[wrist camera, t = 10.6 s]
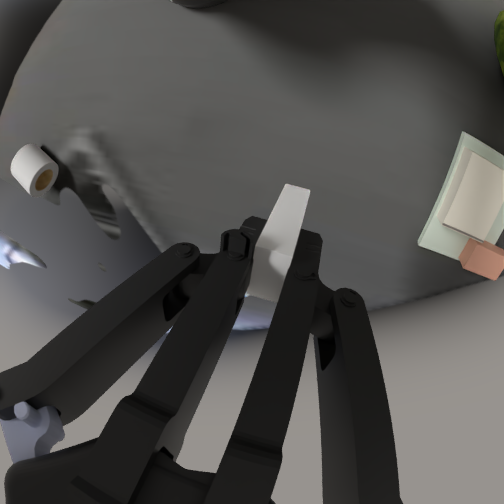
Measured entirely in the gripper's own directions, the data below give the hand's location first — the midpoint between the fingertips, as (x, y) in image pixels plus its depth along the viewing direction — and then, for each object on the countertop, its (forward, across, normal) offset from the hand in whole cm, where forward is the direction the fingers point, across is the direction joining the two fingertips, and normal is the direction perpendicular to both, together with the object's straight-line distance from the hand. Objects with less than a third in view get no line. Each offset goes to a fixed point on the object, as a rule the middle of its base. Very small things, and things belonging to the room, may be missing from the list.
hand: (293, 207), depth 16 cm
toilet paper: (+25, -63, -14) cm, 69 cm away
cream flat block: (+23, +25, 0) cm, 34 cm away
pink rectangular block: (+23, +34, -9) cm, 42 cm away
